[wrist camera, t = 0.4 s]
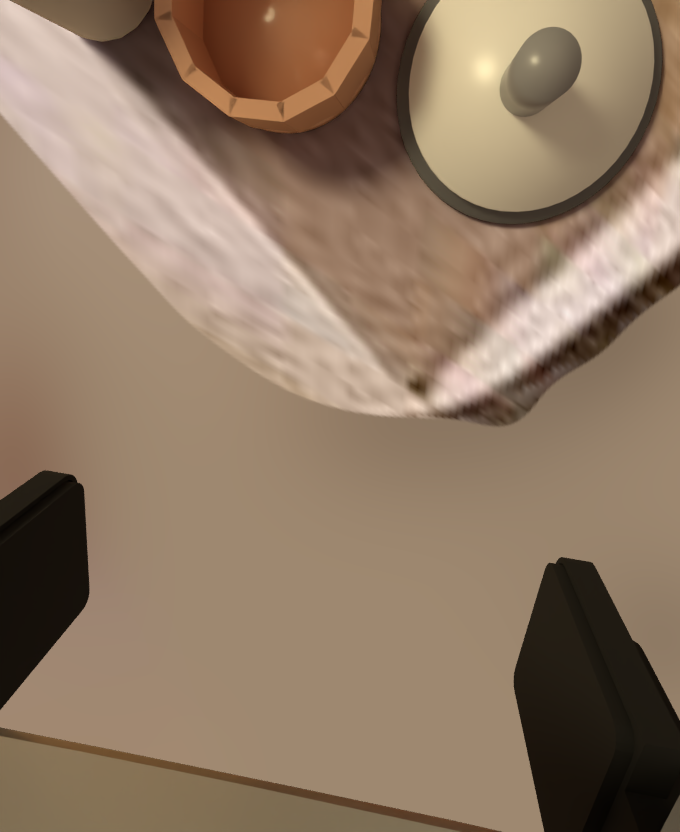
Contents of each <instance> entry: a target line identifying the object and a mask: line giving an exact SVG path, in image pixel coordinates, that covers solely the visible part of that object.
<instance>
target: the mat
mask: <svg viewBox="0 0 680 832" xmlns="http://www.w3.org/2000/svg"><path fill="white" fill-rule="evenodd" d="M439 1H440V0H427V1H426V3H425V4H424V6H423V8H422V9H421V11H420V13H419V15H418V16H417V18H416V20H415V22H414V24H413V27H412V29H411V31H410V34H409V36H408V38H407V41H406V44H405V48H404V51H403V54H402V58H401V63H400V68H399V74H398V84H397V112H398V119H399V125H400V131H401V135H402V138H403V142H404V145H405V148H406V151H407V153H408V155H409V157H410V160H411V162H412V164H413V166H414V167H415V169H416V171H417V172H418V174H419V175H420V177H421V178H422V180H423V181H424V182H425V183H426V184H427V186H428V187H429V188H430V189H431V190H432V191H433V192H434V193H435V194H436V195H437V196H438V197H439V198H440V199H441V200H443V201H444V202H446V203H447V204H448V205H450V206H451V207H453V208H454V209H456V210H458V211H460V212H462V213H464V214H466V215H468V216H471V217H474V218H477V219H480V220H484V221H489V222H494V223H504V224H519V223H530V222H535V221H539V220H544V219H548V218H550V217H553V216H556V215H559V214H562V213H564V212H566V211H568V210H570V209H572V208H574V207H576V206H578V205H579V204H581V203H582V202H584V201H585V200H587V199H588V198H590V197H591V196H593V195H594V194H595V193H597V192H598V191H599V190H600V189H601V188H603V187H604V186H605V185H606V184H607V183H608V182H609V181H610V180H611V179H612V178H613V177H614V176H615V175H616V174H617V173H618V172H619V171H620V169H621V168H622V167H623V166H624V164H625V163H626V162H627V160H628V159H629V158H630V156H631V155H632V153H633V152H634V150H635V149H636V147H637V145H638V144H639V142H640V140H641V139H642V137H643V134H644V132H645V130H646V128H647V126H648V124H649V122H650V119H651V116H652V113H653V110H654V107H655V104H656V101H657V96H658V91H659V87H660V82H661V71H662V42H661V36H660V29H659V23H658V20H657V17H656V13H655V10H654V7H653V4H652V2H651V0H642V2H643V4H644V7H645V9H646V12H647V15H648V18H649V22H650V25H651V30H652V36H653V42H654V71H653V81H652V86H651V90H650V95H649V99H648V102H647V105H646V108H645V111H644V114H643V117H642V119H641V121H640V123H639V126H638V128H637V130H636V132H635V134H634V135H633V137H632V139H631V140H630V142H629V144H628V145H627V147H626V148H625V150H624V151H623V152H622V154H621V155H620V156H619V158H618V159H617V160H616V162H615V163H614V164H613V165H612V166H611V167H610V168H609V169H608V170H607V171H606V172H605V173H604V174H603V175H602V176H601V177H600V178H598V179H597V180H596V181H595V182H594V183H592V184H591V185H590V186H588V187H587V188H585V189H584V190H582V191H581V192H579V193H578V194H576V195H574V196H572V197H570V198H568V199H567V200H565V201H563V202H560V203H557V204H554V205H552V206H549V207H545V208H541V209H537V210H532V211H521V212H510V211H497V210H492V209H487V208H484V207H481V206H478V205H475V204H472V203H470V202H468V201H466V200H464V199H462V198H461V197H459V196H458V195H456V194H455V193H454V192H452V191H451V190H449V189H448V188H447V187H446V186H445V185H444V184H443V183H442V182H441V181H440V180H439V179H438V178H437V177H436V175H435V174H434V173H433V172H432V170H431V169H430V168H429V166H428V164H427V163H426V161H425V159H424V158H423V156H422V154H421V151H420V149H419V147H418V145H417V142H416V139H415V135H414V132H413V129H412V124H411V117H410V110H409V82H410V73H411V67H412V62H413V57H414V54H415V51H416V47H417V44H418V41H419V38H420V36H421V34H422V31H423V29H424V27H425V25H426V23H427V21H428V19H429V17H430V16H431V14H432V12H433V10H434V9H435V7H436V6H437V4H438V3H439Z"/></svg>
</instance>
